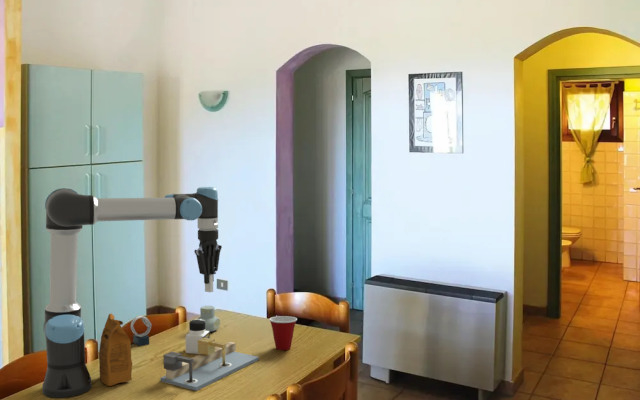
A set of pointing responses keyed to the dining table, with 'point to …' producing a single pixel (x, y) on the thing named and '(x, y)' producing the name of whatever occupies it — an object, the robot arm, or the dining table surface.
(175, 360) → the trammel beam
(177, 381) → the plate
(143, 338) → the grey ring on base
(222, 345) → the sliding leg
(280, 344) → the plastic cup
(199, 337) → the medicine bottle
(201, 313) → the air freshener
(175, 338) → the dining table surface
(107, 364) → the coffee package
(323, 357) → the dining table surface
